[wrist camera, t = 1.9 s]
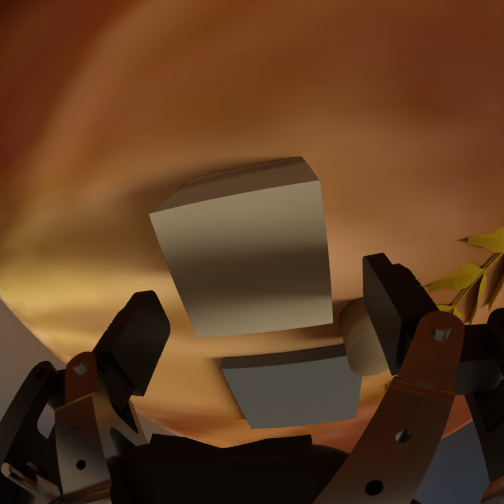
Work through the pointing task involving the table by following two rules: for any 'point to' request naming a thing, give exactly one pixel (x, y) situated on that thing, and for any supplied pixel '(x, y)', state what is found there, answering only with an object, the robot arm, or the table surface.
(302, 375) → the slate coaster
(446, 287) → the yellow leafy sprig
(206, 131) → the table surface
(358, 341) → the cork cylinder
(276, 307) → the metal cube
